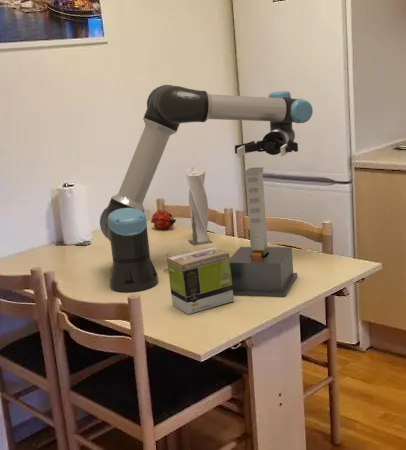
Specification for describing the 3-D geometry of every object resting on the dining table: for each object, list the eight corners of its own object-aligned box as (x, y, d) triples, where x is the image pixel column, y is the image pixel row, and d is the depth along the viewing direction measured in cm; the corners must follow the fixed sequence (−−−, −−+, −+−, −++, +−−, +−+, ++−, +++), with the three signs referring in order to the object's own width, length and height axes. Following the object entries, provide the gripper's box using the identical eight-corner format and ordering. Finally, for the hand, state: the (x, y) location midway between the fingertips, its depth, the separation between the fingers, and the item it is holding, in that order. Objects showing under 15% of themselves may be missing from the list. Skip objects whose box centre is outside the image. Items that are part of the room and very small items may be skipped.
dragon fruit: (155, 229, 293) (174, 237, 285) (142, 222, 287) (160, 230, 278) (165, 211, 294) (183, 219, 285) (152, 203, 288) (170, 211, 279)
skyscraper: (187, 240, 266) (180, 167, 259) (207, 237, 268) (200, 165, 262) (194, 245, 258) (187, 170, 251) (214, 241, 261) (208, 167, 254)
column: (263, 256, 203) (258, 171, 197) (250, 256, 205) (244, 171, 198) (268, 250, 209) (263, 167, 203) (255, 250, 210) (249, 167, 204)
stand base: (284, 297, 198) (282, 259, 195) (224, 295, 204) (221, 258, 201) (297, 276, 214) (295, 241, 212) (240, 275, 220) (238, 240, 218)
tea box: (216, 293, 206) (212, 245, 202) (234, 302, 197) (230, 252, 194) (171, 305, 199) (166, 255, 196) (187, 315, 191) (182, 263, 187)
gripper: (313, 152, 228) (301, 163, 209) (240, 154, 237) (221, 165, 217) (312, 129, 227) (299, 138, 207) (238, 132, 235) (219, 141, 215)
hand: (259, 152), depth 212 cm, fingers open, 13 cm apart
